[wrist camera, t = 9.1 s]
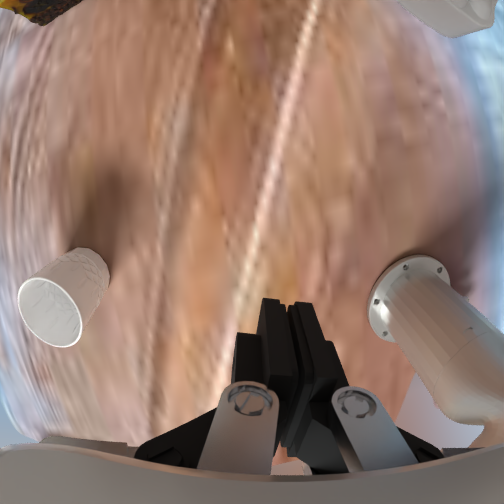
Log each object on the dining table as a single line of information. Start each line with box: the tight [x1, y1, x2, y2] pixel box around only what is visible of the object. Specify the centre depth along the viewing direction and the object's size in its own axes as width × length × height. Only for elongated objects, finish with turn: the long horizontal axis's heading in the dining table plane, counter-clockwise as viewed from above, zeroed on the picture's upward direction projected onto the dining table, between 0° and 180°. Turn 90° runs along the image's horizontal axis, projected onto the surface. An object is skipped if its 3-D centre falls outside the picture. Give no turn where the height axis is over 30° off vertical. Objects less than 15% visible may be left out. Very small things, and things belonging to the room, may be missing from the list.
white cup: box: [18, 247, 110, 347], centre depth 31 cm, size 8×8×10 cm
